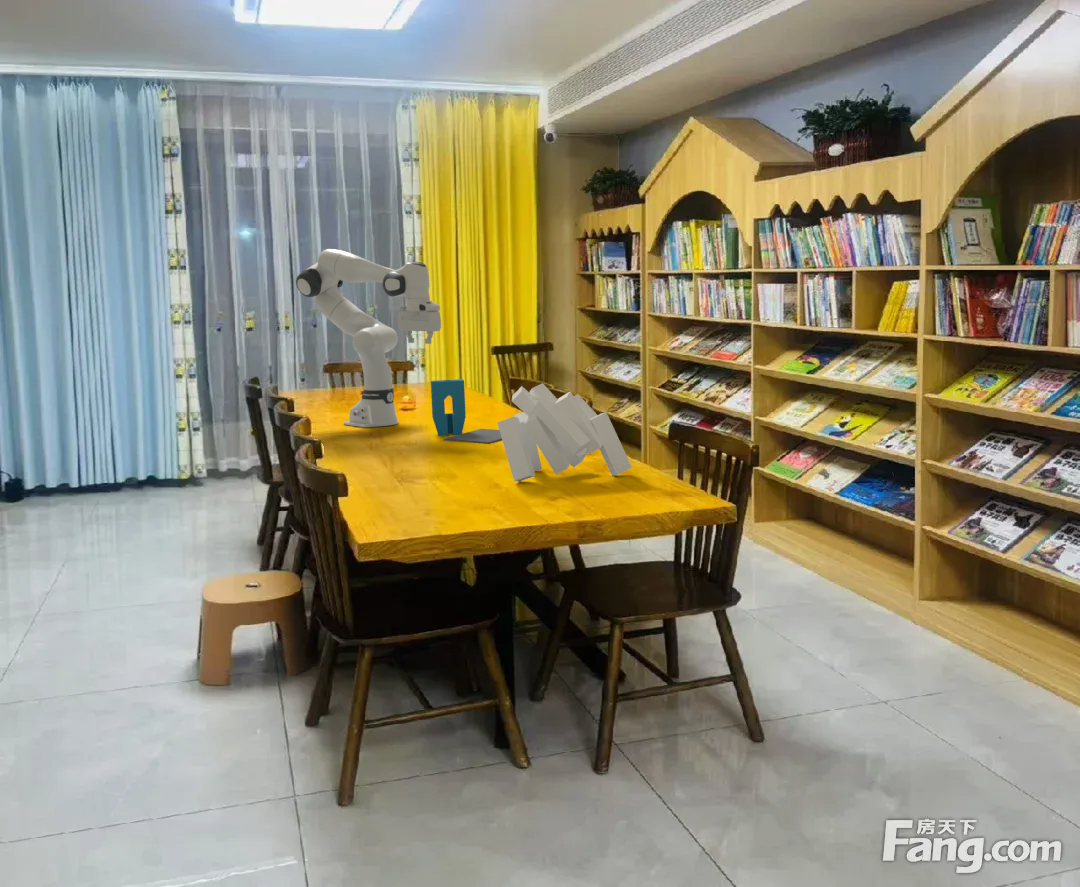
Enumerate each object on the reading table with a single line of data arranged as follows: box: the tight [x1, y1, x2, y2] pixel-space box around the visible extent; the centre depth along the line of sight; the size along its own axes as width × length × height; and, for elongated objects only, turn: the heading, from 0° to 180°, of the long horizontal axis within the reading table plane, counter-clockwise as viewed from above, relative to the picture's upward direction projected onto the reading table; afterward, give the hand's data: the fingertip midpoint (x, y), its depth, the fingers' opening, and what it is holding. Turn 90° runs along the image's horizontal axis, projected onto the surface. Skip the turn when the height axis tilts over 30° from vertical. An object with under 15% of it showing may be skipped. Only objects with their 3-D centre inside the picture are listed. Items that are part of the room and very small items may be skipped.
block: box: [430, 378, 467, 437], centre depth 386 cm, size 12×5×20 cm, turn 102°
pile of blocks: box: [497, 383, 633, 482], centre depth 304 cm, size 35×30×35 cm
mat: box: [442, 428, 502, 445], centre depth 379 cm, size 20×24×1 cm
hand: (419, 343), depth 389 cm, fingers open, 8 cm apart
